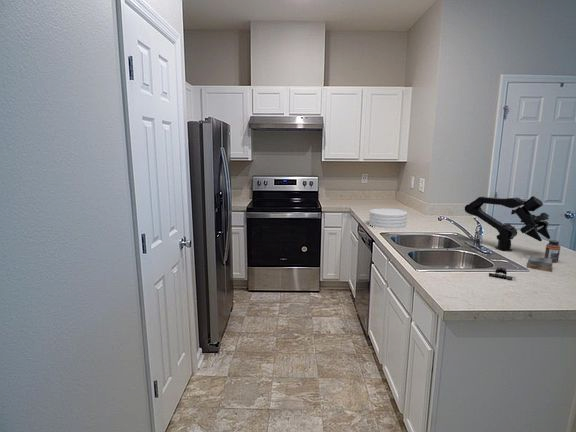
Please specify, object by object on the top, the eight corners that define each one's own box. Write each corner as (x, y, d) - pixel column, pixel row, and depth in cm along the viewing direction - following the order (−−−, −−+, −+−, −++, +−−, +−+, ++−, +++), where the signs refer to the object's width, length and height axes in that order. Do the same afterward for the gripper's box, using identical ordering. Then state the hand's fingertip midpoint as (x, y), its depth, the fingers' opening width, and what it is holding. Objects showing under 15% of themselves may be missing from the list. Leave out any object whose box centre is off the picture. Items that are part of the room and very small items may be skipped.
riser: (526, 267, 167) (527, 259, 167) (528, 262, 175) (529, 255, 174) (551, 272, 161) (552, 264, 160) (552, 266, 169) (553, 259, 168)
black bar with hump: (484, 277, 156) (485, 268, 155) (485, 272, 162) (486, 263, 161) (516, 283, 149) (517, 273, 148) (515, 277, 155) (517, 268, 154)
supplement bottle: (543, 258, 181) (546, 238, 179) (556, 260, 178) (560, 240, 176) (544, 261, 176) (548, 241, 174) (558, 263, 173) (562, 242, 171)
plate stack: (376, 230, 244) (376, 215, 242) (364, 222, 272) (365, 208, 269) (412, 229, 246) (413, 214, 244) (397, 221, 274) (398, 208, 271)
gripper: (529, 209, 175) (551, 234, 168) (547, 206, 184) (567, 229, 177) (512, 221, 183) (531, 245, 176) (529, 217, 192) (548, 240, 185)
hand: (545, 239), depth 178 cm, fingers open, 9 cm apart
